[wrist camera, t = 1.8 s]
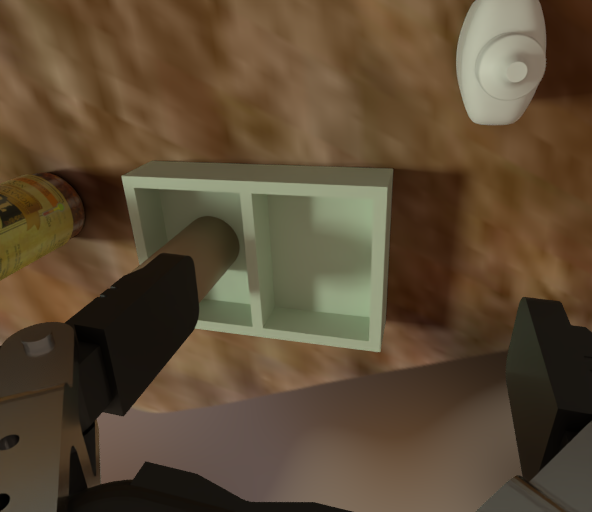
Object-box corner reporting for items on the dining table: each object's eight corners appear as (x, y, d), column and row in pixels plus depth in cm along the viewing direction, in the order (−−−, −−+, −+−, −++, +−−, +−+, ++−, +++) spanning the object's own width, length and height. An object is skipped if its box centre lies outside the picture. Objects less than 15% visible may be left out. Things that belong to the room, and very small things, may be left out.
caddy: (151, 160, 36) (32, 219, 26) (393, 168, 32) (369, 244, 21) (175, 297, 41) (85, 392, 31) (385, 320, 37) (363, 442, 26)
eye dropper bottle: (427, 79, 29) (419, 113, 18) (485, -19, 26) (514, -43, 16) (490, 114, 29) (518, 169, 18) (555, 21, 26) (632, 22, 16)
